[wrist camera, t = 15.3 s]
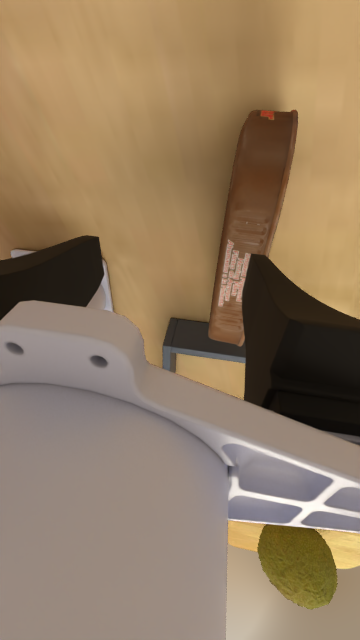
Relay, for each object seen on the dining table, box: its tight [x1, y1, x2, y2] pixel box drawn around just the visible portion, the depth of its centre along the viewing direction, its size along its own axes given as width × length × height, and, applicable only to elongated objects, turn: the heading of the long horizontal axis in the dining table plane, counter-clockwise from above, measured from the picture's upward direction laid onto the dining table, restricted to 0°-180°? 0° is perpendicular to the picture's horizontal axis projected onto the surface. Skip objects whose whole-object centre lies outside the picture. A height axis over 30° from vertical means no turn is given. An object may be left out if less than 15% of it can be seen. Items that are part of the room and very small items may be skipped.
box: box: [163, 318, 246, 373], centre depth 33 cm, size 14×20×4 cm
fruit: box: [257, 524, 338, 609], centre depth 58 cm, size 16×14×15 cm
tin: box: [208, 110, 298, 347], centre depth 18 cm, size 15×3×8 cm, turn 177°
